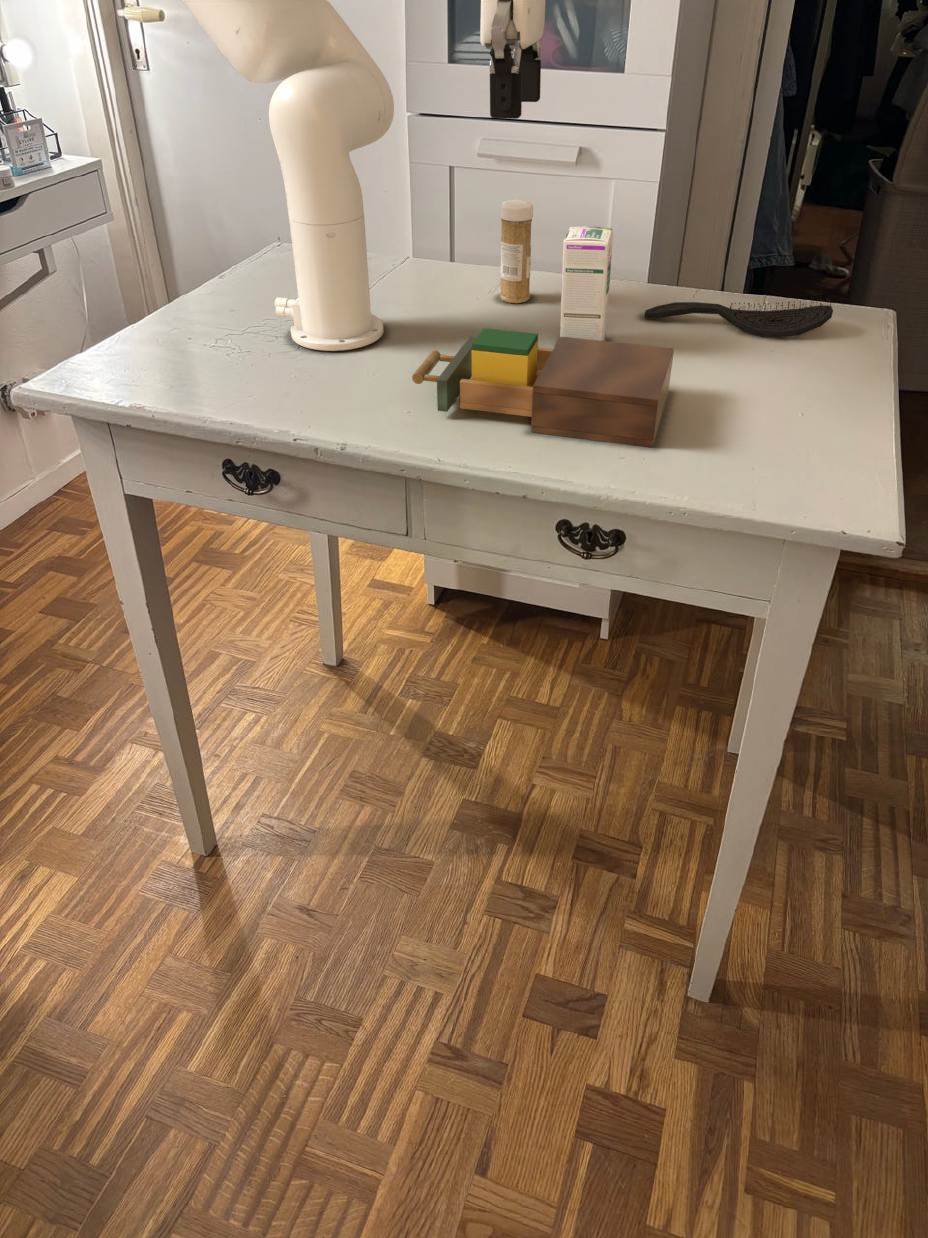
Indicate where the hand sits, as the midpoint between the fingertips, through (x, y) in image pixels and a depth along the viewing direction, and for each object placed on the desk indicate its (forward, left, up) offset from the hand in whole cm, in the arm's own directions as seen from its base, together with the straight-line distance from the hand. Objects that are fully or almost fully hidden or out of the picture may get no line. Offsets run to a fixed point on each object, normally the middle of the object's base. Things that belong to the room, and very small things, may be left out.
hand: (516, 108), depth 101 cm
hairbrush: (+26, +24, -30) cm, 46 cm away
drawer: (-1, -8, -29) cm, 30 cm away
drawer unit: (+13, -8, -30) cm, 33 cm away
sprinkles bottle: (-6, +26, -30) cm, 40 cm away
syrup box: (+7, +11, -30) cm, 32 cm away
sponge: (+1, -8, -28) cm, 29 cm away
